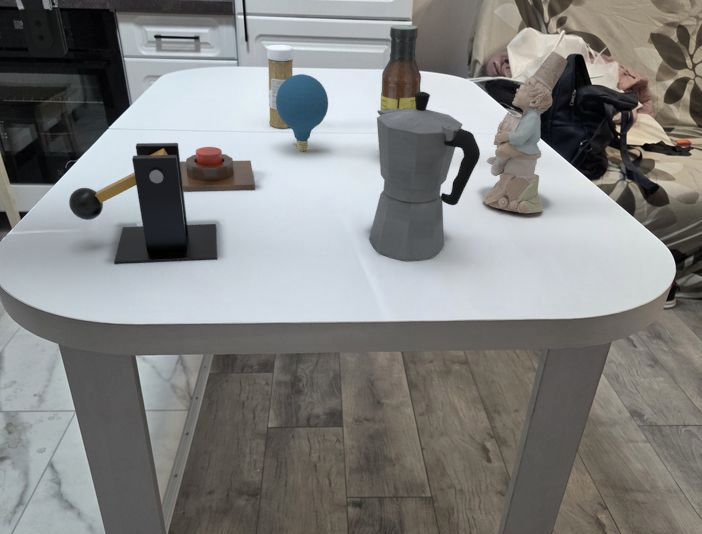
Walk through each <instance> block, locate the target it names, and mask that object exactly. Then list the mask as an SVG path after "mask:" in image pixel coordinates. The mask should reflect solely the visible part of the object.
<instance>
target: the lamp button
mask: <svg viewBox="0 0 702 534" xmlns="http://www.w3.org/2000/svg"><path fill="white" fill-rule="evenodd" d="M222 154H223V151H222V149H221V148H219V147H216V146H202V147H199V148H197V149H195V155H196V160H197V164H200V165H205V166H209V165H218V164H221V163H223V162H222Z"/></svg>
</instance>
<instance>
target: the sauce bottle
mask: <svg viewBox="0 0 702 534" xmlns="http://www.w3.org/2000/svg"><path fill="white" fill-rule="evenodd" d="M418 31H419V28H418V27H417V25H410V24H393V25H391V26H390V31H389V36H390V53H389V60H388V62H387V64H386V66H385V67H384V68H383V70H382V74H381V93H380V107H379V108H380V110H384V109H387V108H388V109H392V108H396V109H415V108H416V104H415V93H418V92H421V81H422V75H421V72H420V70H419V66H418V63H417V61H416V44H417V38H418V37H419V36H418V35H419V33H418Z"/></svg>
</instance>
